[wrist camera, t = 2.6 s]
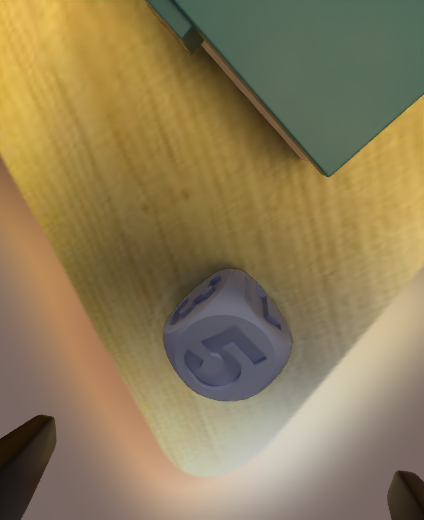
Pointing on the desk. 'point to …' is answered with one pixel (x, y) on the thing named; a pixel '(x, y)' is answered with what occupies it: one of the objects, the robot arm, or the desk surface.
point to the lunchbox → (312, 64)
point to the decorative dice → (227, 337)
